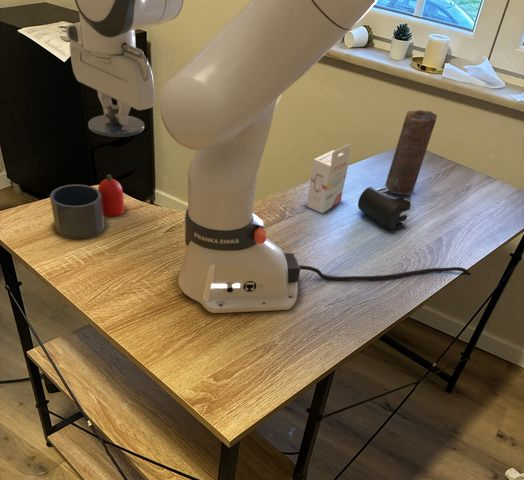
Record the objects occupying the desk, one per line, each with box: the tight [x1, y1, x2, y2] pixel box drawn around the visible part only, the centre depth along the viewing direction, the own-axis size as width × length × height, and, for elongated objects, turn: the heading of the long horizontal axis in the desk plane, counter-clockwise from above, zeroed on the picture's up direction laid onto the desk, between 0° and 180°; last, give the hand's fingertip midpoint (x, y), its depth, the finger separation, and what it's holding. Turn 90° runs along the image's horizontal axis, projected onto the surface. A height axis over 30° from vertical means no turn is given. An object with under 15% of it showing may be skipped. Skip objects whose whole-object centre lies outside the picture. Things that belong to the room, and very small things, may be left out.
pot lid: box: [88, 104, 145, 138], centre depth 99 cm, size 10×10×4 cm
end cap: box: [357, 186, 412, 231], centre depth 123 cm, size 10×7×7 cm
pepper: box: [97, 174, 125, 217], centre depth 113 cm, size 5×5×8 cm
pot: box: [49, 183, 105, 240], centre depth 107 cm, size 10×10×7 cm
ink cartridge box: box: [306, 143, 352, 214], centre depth 124 cm, size 9×5×15 cm, turn 143°
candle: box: [384, 109, 438, 196], centre depth 132 cm, size 8×7×20 cm
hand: (116, 120), depth 100 cm, fingers closed on pot lid, 2 cm apart
